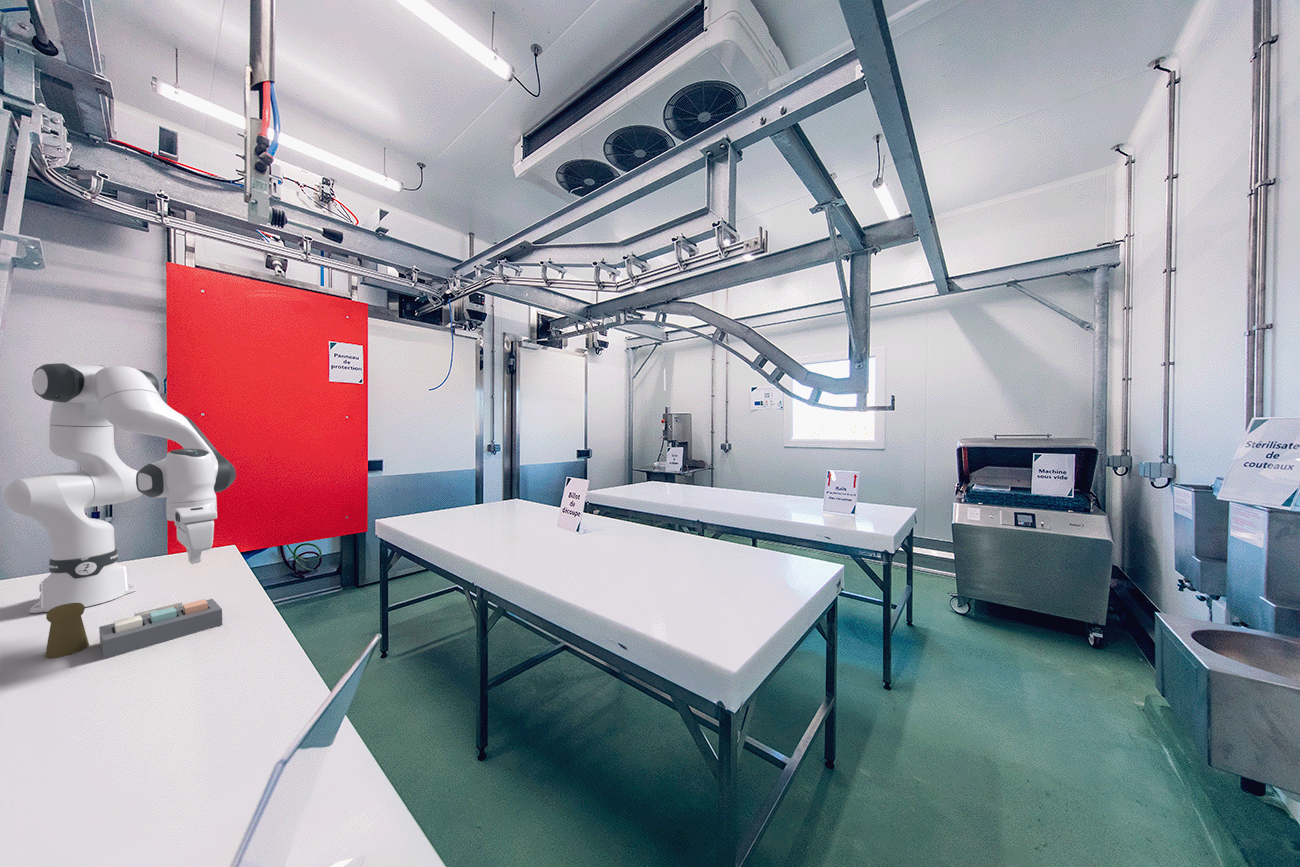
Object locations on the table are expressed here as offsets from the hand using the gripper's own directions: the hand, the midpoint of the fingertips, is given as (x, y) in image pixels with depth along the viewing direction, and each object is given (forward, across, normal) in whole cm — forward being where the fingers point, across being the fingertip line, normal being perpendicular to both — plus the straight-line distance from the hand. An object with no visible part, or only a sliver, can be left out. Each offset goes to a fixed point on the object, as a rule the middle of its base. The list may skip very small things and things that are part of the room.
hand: (194, 562), depth 108 cm
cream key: (+14, 0, -11) cm, 18 cm away
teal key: (+14, 0, -6) cm, 15 cm away
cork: (+17, -7, -20) cm, 27 cm away
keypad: (+17, 0, -6) cm, 18 cm away
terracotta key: (+14, 0, 0) cm, 14 cm away
